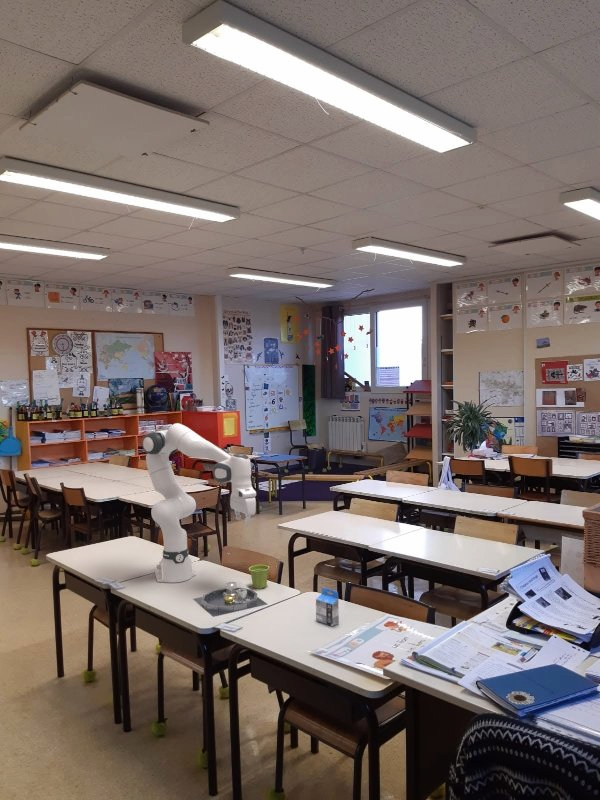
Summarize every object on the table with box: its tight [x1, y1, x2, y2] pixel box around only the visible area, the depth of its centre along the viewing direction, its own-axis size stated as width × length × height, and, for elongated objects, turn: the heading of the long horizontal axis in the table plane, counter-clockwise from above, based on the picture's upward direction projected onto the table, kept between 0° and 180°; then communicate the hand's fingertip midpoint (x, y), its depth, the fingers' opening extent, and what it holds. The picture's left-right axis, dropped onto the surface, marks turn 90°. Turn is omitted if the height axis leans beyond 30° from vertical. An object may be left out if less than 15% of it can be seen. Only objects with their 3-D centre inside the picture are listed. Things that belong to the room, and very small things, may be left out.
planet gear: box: [233, 588, 250, 605], centre depth 247 cm, size 7×7×6 cm
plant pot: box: [248, 564, 270, 590], centre depth 272 cm, size 9×9×9 cm
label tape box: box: [315, 586, 340, 627], centre depth 228 cm, size 9×4×12 cm, turn 45°
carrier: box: [192, 581, 268, 618], centre depth 251 cm, size 24×24×7 cm
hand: (242, 521), depth 265 cm, fingers open, 8 cm apart
